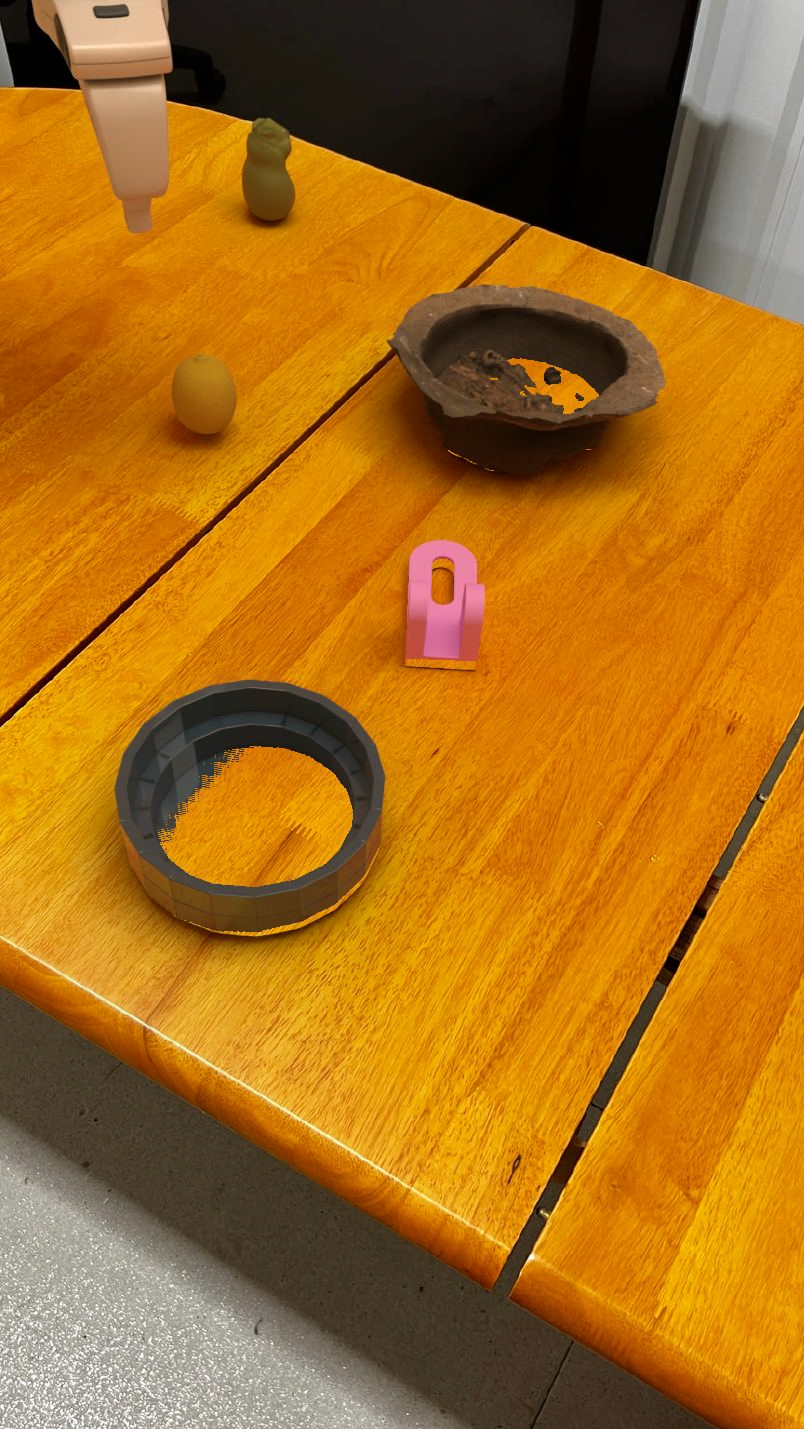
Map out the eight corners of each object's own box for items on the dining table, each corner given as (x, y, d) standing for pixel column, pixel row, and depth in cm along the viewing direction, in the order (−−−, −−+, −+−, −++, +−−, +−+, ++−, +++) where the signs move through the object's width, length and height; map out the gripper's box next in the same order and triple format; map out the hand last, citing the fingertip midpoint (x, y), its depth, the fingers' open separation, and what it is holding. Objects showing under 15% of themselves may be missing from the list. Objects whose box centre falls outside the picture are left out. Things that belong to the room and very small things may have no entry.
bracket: (475, 671, 96) (484, 609, 90) (404, 666, 96) (409, 604, 90) (475, 554, 104) (483, 491, 98) (409, 550, 103) (414, 486, 98)
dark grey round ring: (104, 931, 80) (89, 884, 76) (153, 722, 91) (143, 669, 86) (370, 952, 81) (373, 907, 76) (389, 742, 91) (393, 691, 86)
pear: (234, 212, 130) (228, 116, 122) (273, 197, 133) (270, 102, 125) (266, 236, 128) (262, 140, 120) (306, 220, 131) (305, 125, 122)
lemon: (236, 411, 112) (231, 334, 105) (241, 451, 109) (235, 375, 102) (175, 414, 111) (165, 336, 104) (177, 454, 108) (168, 377, 101)
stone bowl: (456, 531, 105) (461, 439, 97) (350, 377, 119) (347, 286, 111) (702, 466, 112) (724, 376, 104) (574, 328, 126) (585, 240, 118)
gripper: (28, -73, 86) (64, 127, 97) (73, 66, 75) (107, 273, 86) (119, -78, 87) (144, 120, 98) (176, 58, 76) (196, 263, 88)
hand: (127, 193), depth 92 cm, fingers open, 8 cm apart
